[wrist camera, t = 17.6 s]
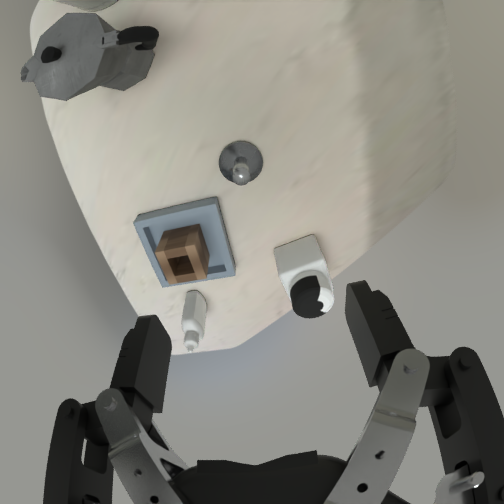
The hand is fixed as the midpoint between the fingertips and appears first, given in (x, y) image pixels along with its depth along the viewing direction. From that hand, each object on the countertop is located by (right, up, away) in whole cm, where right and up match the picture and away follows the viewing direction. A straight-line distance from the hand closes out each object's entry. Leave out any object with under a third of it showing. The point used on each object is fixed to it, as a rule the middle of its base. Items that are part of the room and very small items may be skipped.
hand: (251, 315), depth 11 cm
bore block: (-10, +4, +32) cm, 34 cm away
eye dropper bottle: (-11, -7, +41) cm, 42 cm away
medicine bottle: (+8, +2, +36) cm, 37 cm away
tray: (-10, +4, +33) cm, 35 cm away
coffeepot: (-16, +29, +16) cm, 37 cm away
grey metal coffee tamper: (-2, +15, +26) cm, 30 cm away
